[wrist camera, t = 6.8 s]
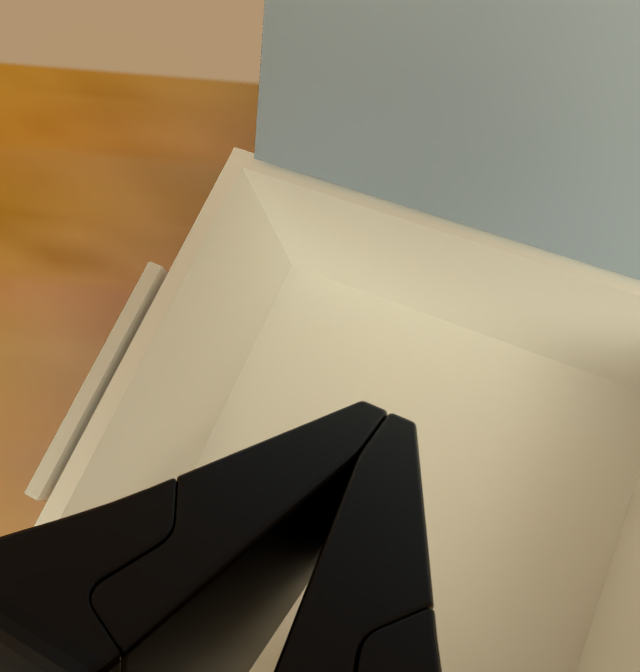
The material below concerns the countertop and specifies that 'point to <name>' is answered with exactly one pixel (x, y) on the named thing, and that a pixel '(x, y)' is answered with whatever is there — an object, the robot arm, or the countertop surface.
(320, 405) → the carton
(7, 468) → the countertop surface
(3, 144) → the countertop surface
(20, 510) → the countertop surface
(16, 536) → the robot arm
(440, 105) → the far flap
